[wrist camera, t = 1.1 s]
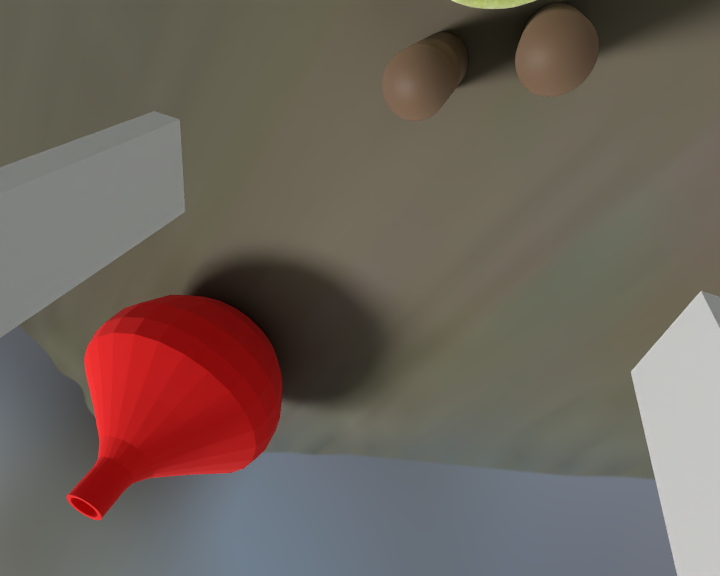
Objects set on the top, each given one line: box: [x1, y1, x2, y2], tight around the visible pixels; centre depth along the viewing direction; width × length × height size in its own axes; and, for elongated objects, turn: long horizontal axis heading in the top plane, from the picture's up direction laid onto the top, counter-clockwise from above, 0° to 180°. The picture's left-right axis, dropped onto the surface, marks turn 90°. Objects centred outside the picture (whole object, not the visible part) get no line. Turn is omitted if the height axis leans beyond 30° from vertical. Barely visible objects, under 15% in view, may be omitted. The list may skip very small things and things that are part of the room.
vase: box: [67, 295, 283, 520], centre depth 40 cm, size 18×18×19 cm
